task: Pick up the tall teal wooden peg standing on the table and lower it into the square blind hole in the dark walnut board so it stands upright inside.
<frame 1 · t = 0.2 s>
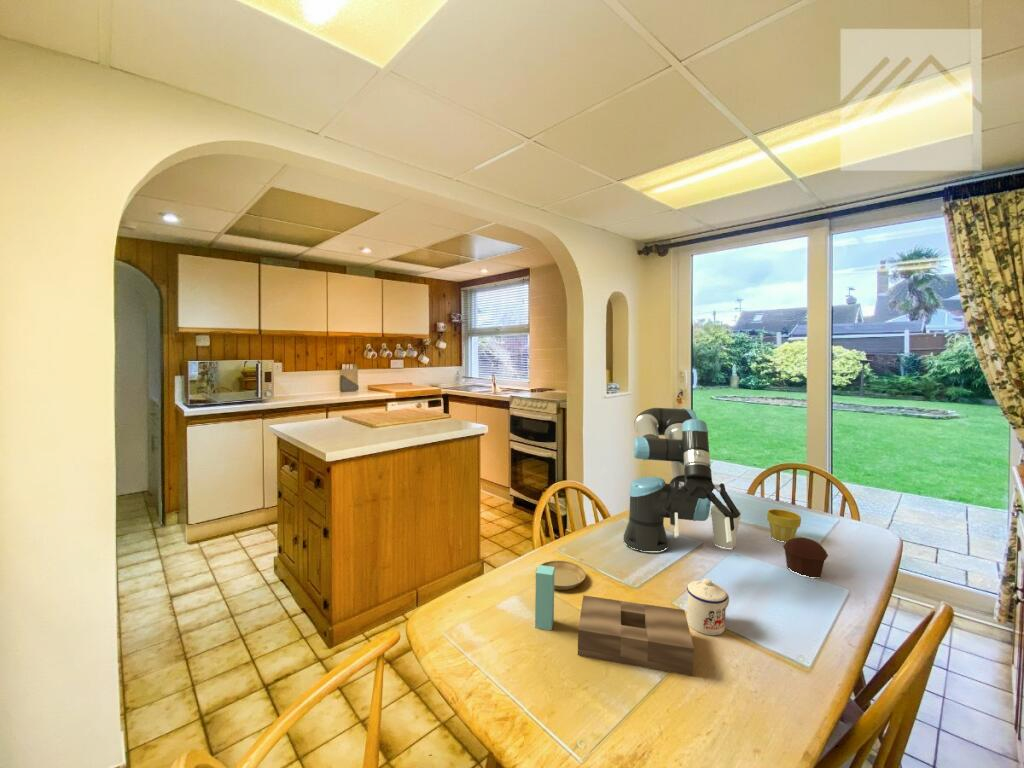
hand: (702, 539, 119), 16 cm above the table, tool tilted 35°, fingers open, 13 cm apart
plant saucer: (560, 581, 127), on the table
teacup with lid: (709, 624, 107), on the table
foam cup: (724, 546, 151), on the table
hole board: (632, 644, 99), on the table
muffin: (803, 571, 134), on the table
plant pot: (782, 540, 156), on the table
peg: (544, 624, 106), on the table
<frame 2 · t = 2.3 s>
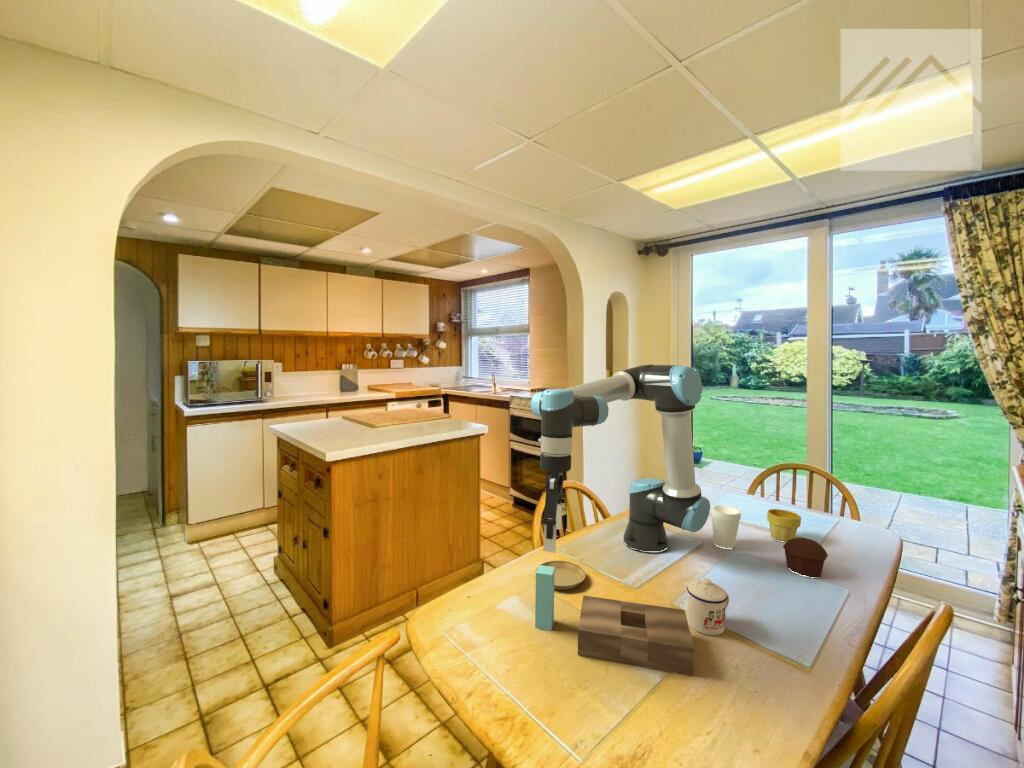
hand: (552, 539, 104), 22 cm above the table, tool pointing down, fingers open, 13 cm apart
nothing on the table moved.
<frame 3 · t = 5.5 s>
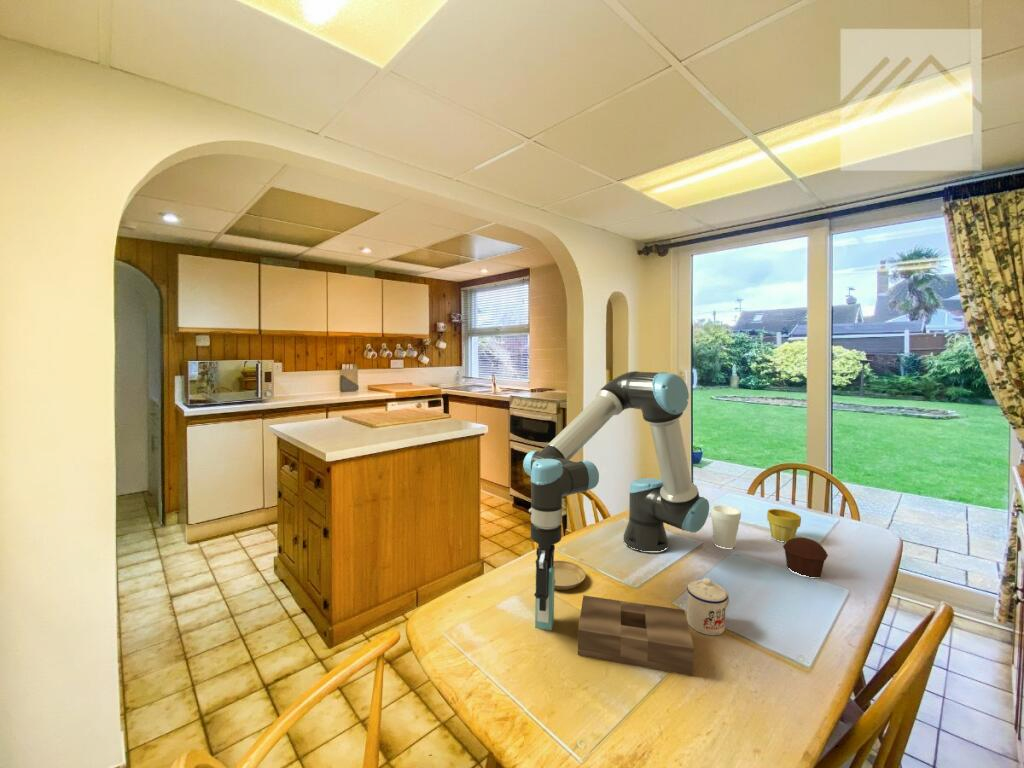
hand: (544, 615, 106), 2 cm above the table, tool pointing down, fingers closed on peg, 4 cm apart
peg: (544, 624, 106), on the table, touching gripper
everything else where it was.
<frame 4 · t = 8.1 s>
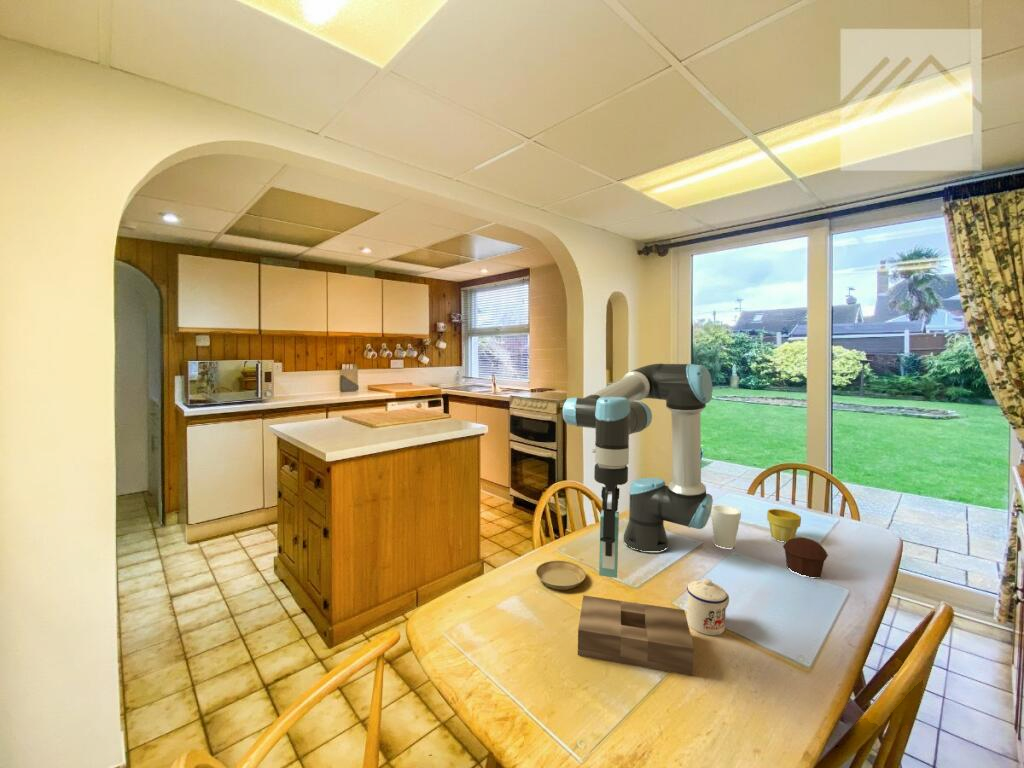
hand: (608, 562, 100), 18 cm above the table, tool pointing down, fingers closed on peg, 4 cm apart
peg: (608, 572, 100), point 16 cm above the table, touching gripper
everything else where it was.
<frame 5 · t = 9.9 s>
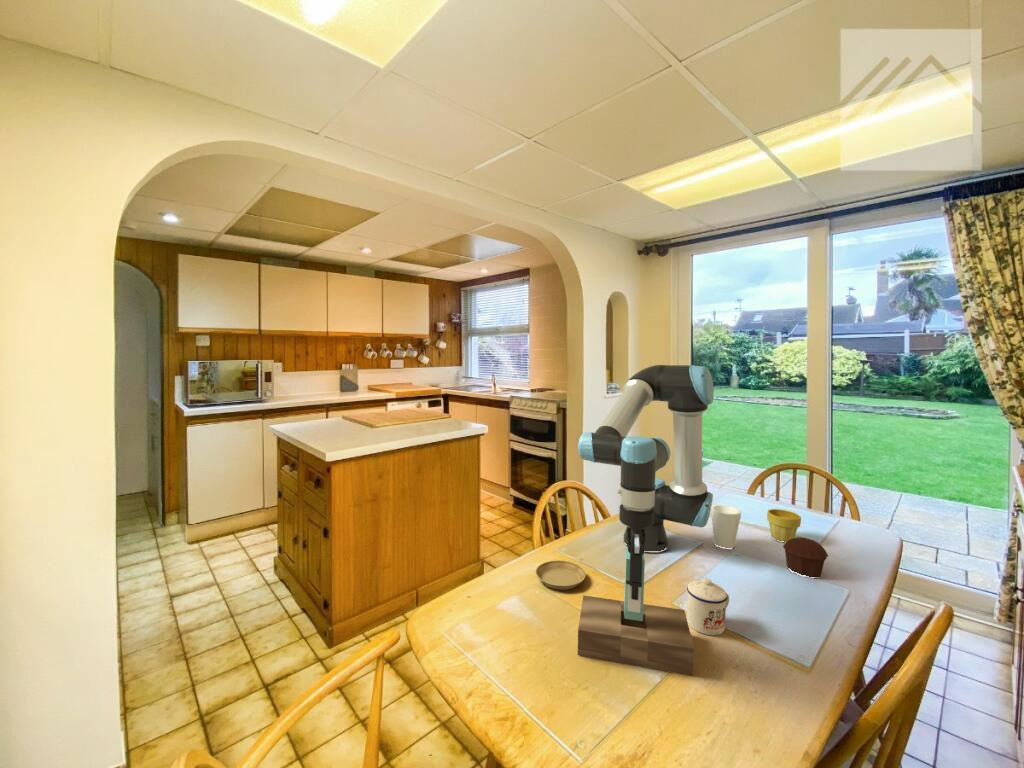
hand: (633, 604, 98), 10 cm above the table, tool pointing down, fingers closed on peg, 4 cm apart
peg: (633, 614, 98), point 7 cm above the table, touching gripper
everything else where it was.
when the fingers open (7 cm above the table, at t = 11.0 s): peg drops 3 cm, resting on hole board.
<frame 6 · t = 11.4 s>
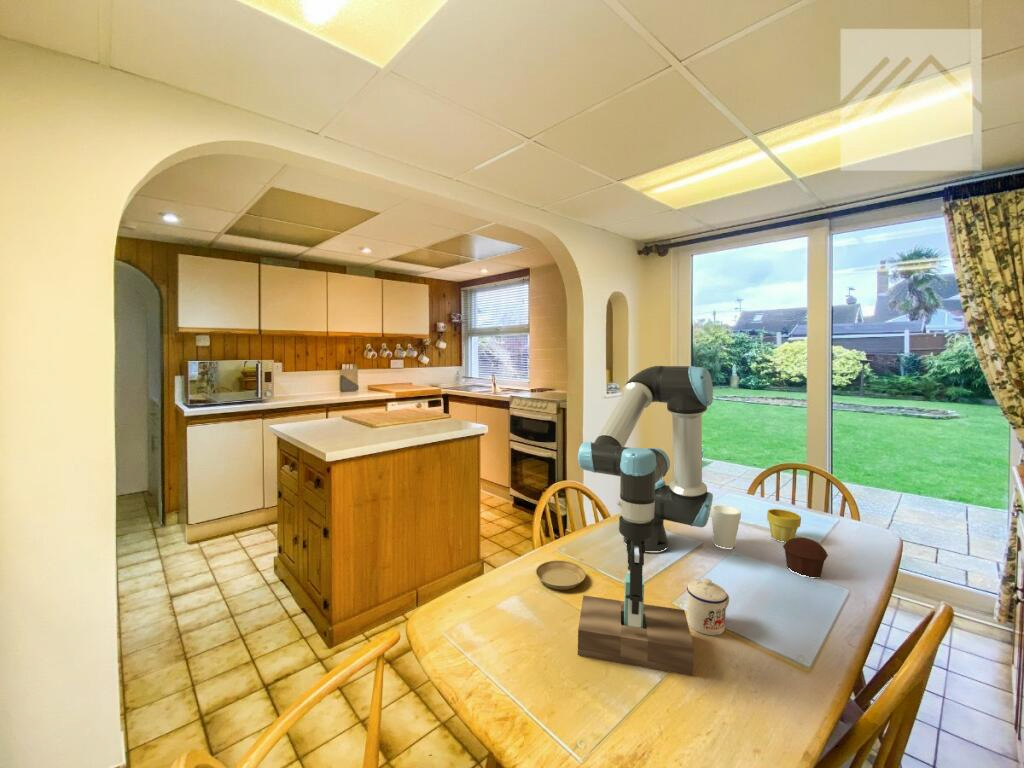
hand: (633, 611, 98), 8 cm above the table, tool pointing down, fingers open, 10 cm apart
peg: (632, 637, 99), point 2 cm above the table, touching hole board
everything else where it was.
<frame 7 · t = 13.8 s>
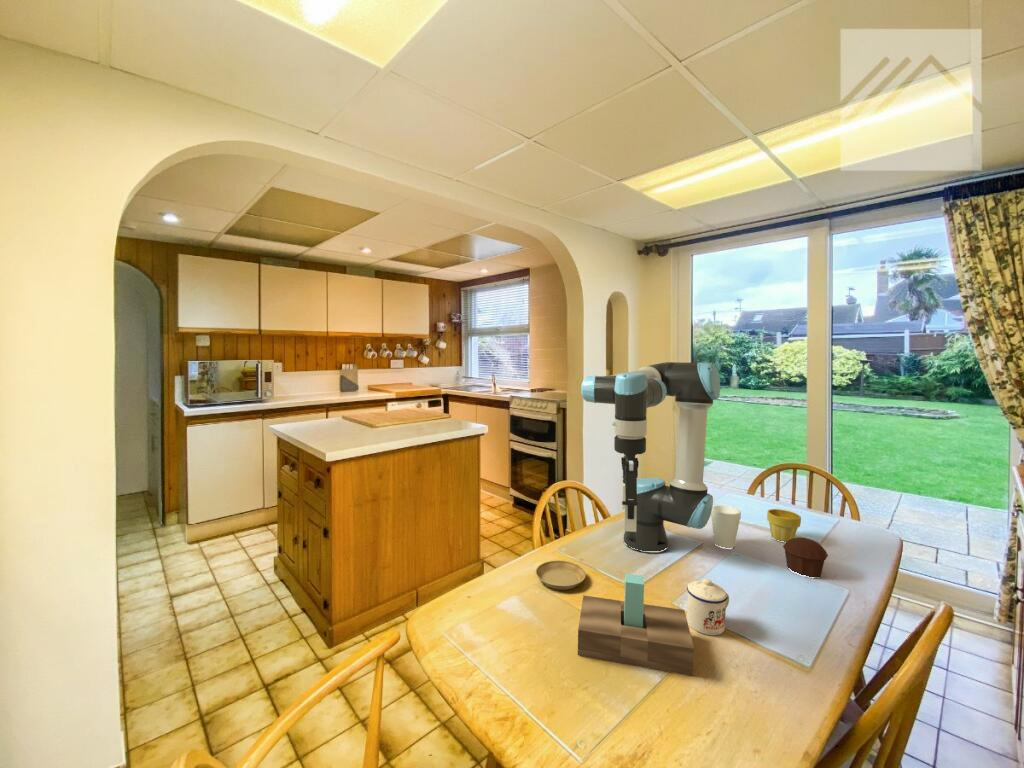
hand: (628, 519, 107), 26 cm above the table, tool pointing down, fingers open, 13 cm apart
nothing on the table moved.
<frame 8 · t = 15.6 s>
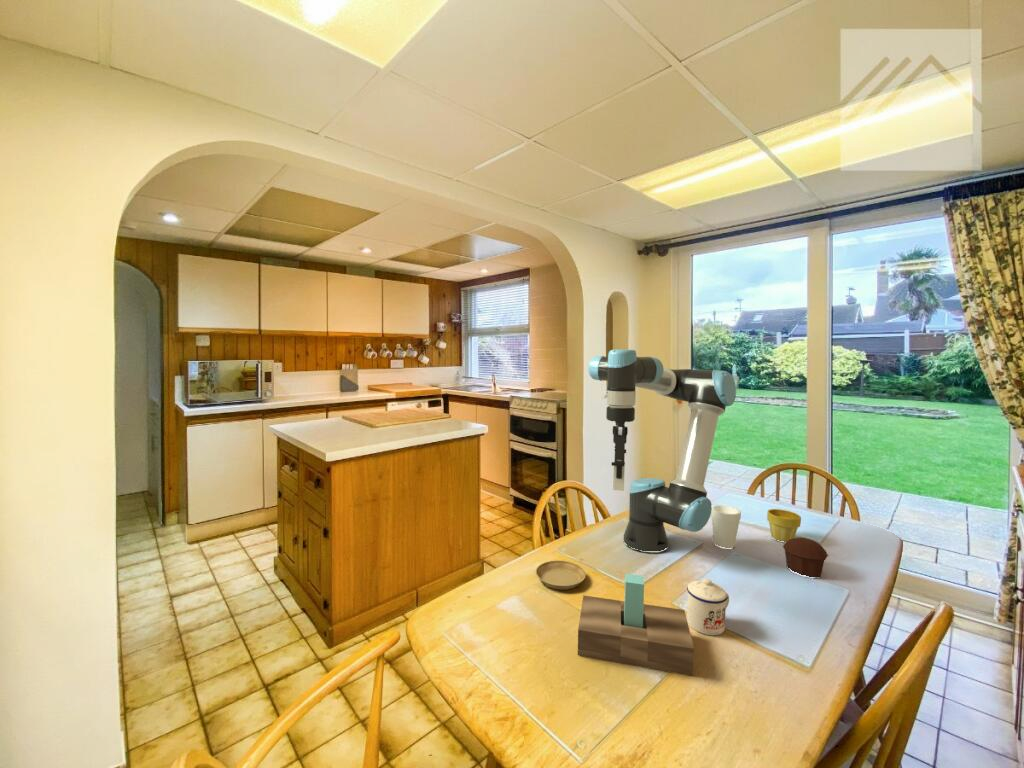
hand: (618, 482, 118), 32 cm above the table, tool pointing down, fingers open, 13 cm apart
nothing on the table moved.
at the end: peg 0.0 cm off-centre on the hole board, point 1.7 cm above the hole board's base; peg tilted 0°; the gripper is holding nothing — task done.
